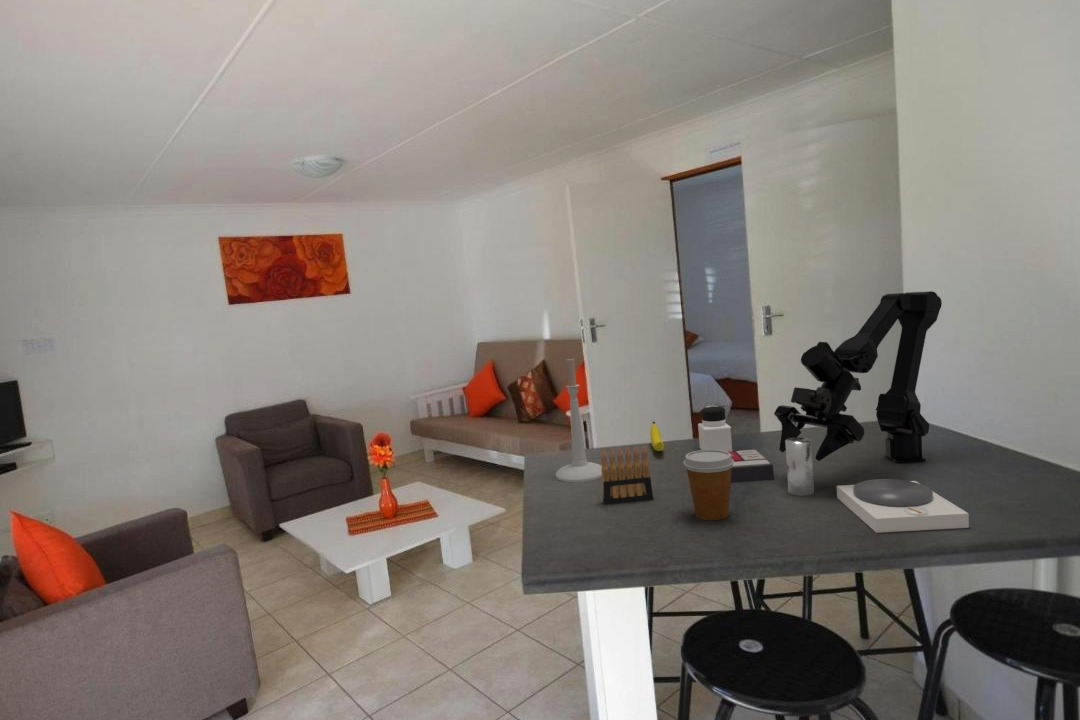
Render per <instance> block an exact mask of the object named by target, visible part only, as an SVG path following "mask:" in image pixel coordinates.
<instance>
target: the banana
mask: <svg viewBox="0 0 1080 720" xmlns="http://www.w3.org/2000/svg"><path fill="white" fill-rule="evenodd" d="M651 423H652V426H651V428H650V440H651V441H650V442H651V445H652V448H653V450H654V451H656V452H661V451H663V450H664V448H665V444H664V442H663V441H662V435H661V431H660V429H659V427H658V426H657V425H656V422H655V421H652V422H651Z"/></svg>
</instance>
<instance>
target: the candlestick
mask: <svg viewBox="0 0 1080 720" xmlns="http://www.w3.org/2000/svg"><path fill="white" fill-rule="evenodd" d="M565 362H566V372H567V373H566V374H567V382H568V385H565V388H566V389H567V393H568V394H569V397H570V399H569V404H570V405H569V407H570V428H571V429H570V431H571V451H572V452H571V453H572V454H571V455H572V461H571V463H569V464H566V465H563V466H562V467H560V468H559V469H558V470H557V471H556V472H555V478H556V479H557V480H559V481H561V482H566V483H585V482H591V481H594V480H597V479H602V471H601V468H602V464H598V463H595V462H591V461H590V462H589V461H588V459H587V454H586V448H585V447H586V445H585V441H584V434H583V433H584V432H583V429H582V428H583V427H582V426H583V425H582V420H581V413H580V406H579V399H578V397H577V396H578V393H579V389H578V388H579V387H580V384H577V377H576V376H577V375H576V367H575V366H576V365H575V358H568V359H565Z"/></svg>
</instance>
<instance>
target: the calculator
mask: <svg viewBox="0 0 1080 720" xmlns="http://www.w3.org/2000/svg"><path fill="white" fill-rule="evenodd" d="M728 453H730V454H731V457H732V459H733V460H734V463H733V466H732V469H731V483H742V482H746V483H747V482H756V481H758V482H760V481H761V482H762V481H773V480H775V476H774V475H775V474H774V465H773V464H772V463H771V462H770V461H769V460H768V459H767V458H766V457H764V455H762V454H761V453H760V452H759V451H758V450H756V449H745V450H744V449H743V450H736V451H729V452H728Z"/></svg>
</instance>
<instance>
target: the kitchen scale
mask: <svg viewBox="0 0 1080 720" xmlns="http://www.w3.org/2000/svg"><path fill="white" fill-rule="evenodd" d="M836 498H837V499H838V500H839V501H840V502H841V503H843V505H845V506H846V507H847V508H848V510H850V511H852V513H854V514H855V516H857V517H858V518H859V519H860V520H862V521H863V523H864V524H866V525H867V526H868V527H870V528H871V530H872V531H874V532H875V533H876V534H877V533H878V534H879V533H895V532H896V533H897V532H914V531H918V532H919V531H932V530H950V529H968V528H970V522H969V521H970V519H969V518H970V516H969V513H968V512H967V511H965V510H964V509H962V508H960V507H959V506H957V505H956V504H954V503H952V502H950V501H949V500H947V499H946V498H945V497H943V496H940V494H937V493H936V492H934V491H933V490H932V489H931V488H930V487H928V486H927V485H924V484H921V483H920V482H918V481H917V480H905V479H904V480H903V479H894V478H893V479H892V478H891V479H890V478H877V479H876V478H874V479H867V480H864V481H862V480H861V481H860V482H858V483H855V484H846V485H845V484H843V485H836Z"/></svg>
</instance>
